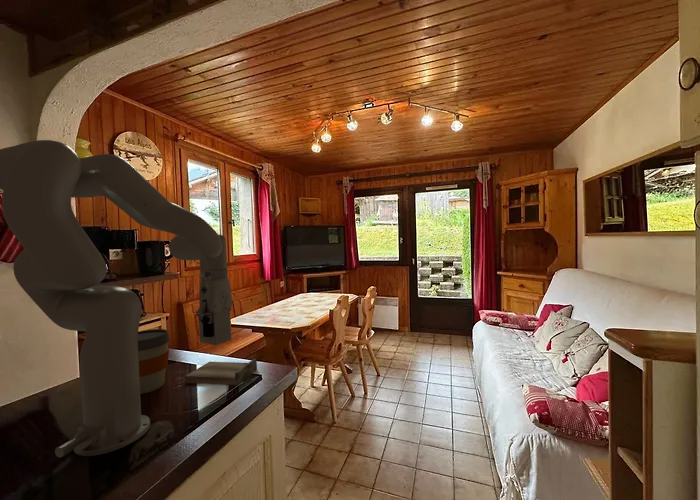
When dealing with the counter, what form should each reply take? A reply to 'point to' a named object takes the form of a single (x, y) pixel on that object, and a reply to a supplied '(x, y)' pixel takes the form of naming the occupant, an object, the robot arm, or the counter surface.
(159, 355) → the reusable coffee cup
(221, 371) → the shelf board
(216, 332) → the small box
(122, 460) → the counter surface
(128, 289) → the robot arm
